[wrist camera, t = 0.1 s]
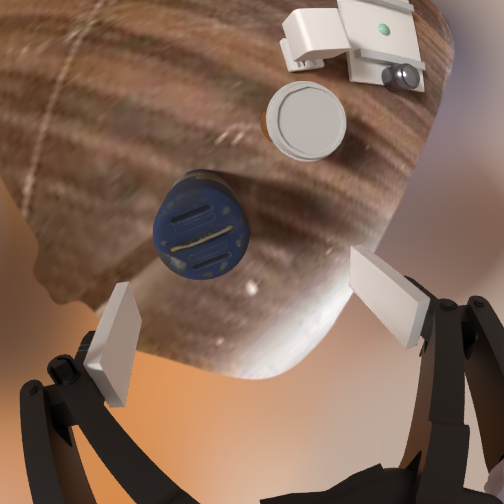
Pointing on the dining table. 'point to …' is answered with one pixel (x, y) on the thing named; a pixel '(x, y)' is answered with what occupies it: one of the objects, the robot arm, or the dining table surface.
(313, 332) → the dining table surface
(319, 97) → the disposable coffee cup
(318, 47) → the white rounded plastic box
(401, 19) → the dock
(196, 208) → the canister
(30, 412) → the robot arm
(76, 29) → the dining table surface
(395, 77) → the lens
